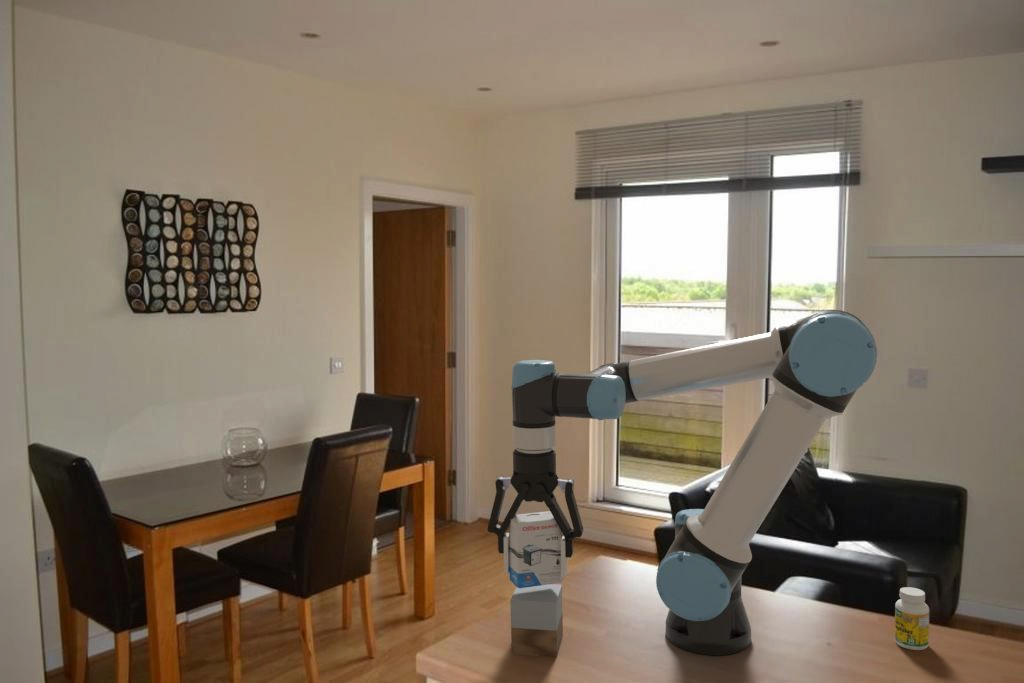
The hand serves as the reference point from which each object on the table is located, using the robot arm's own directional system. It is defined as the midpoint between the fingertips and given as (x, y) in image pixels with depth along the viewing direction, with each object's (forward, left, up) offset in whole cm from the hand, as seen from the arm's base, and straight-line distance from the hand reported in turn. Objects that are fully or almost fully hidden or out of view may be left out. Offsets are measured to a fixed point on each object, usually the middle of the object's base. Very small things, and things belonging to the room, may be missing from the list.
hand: (535, 572), depth 142 cm
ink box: (0, 0, -2) cm, 2 cm away
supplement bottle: (-65, -11, -14) cm, 67 cm away
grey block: (0, 0, -8) cm, 8 cm away
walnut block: (0, 0, -13) cm, 13 cm away
